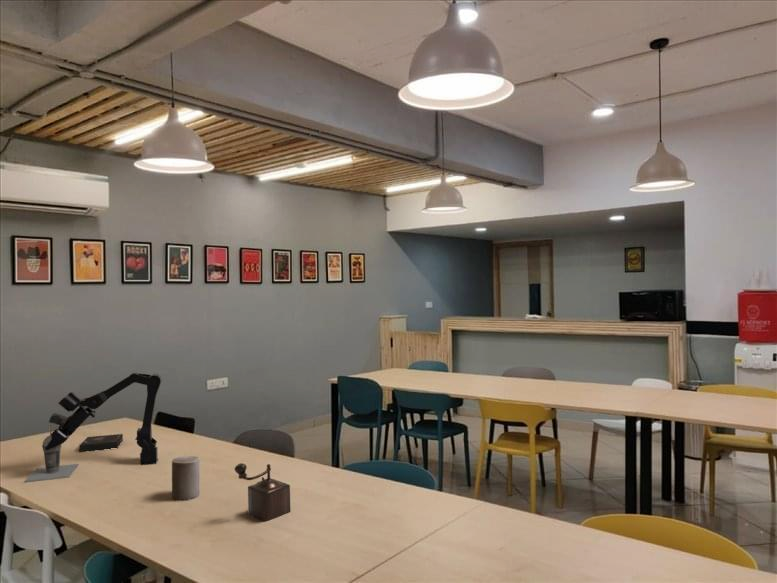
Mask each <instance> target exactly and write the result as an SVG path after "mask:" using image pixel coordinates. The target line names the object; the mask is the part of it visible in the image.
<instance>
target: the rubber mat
mask: <svg viewBox="0 0 777 583" xmlns="http://www.w3.org/2000/svg"><path fill="white" fill-rule="evenodd" d="M78 466H79V463H72V464H62V465H60V467H59V471H58V472H56V473H51V474H48V473H47V471H46V466H44V467H37V468H36V469H35V470H33V472H32V473H30V475H29V476H28V477H27V478H25V480H24V483H31V482H40V481H41V482H42V481H50V480H58V479H67V478H70V477H71V476H72V475H73V473H74V472H75V470H76V469H77V468H78Z"/></svg>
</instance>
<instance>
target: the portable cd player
mask: <svg viewBox="0 0 777 583" xmlns="http://www.w3.org/2000/svg"><path fill="white" fill-rule="evenodd" d="M123 438H124V435H123V433H118V434H117V433H115V434H109V435H108V434H107V435H106V434H105V435H95V436H94V435H93V436H87V437H86V438H85V439H84V440H83V441H82V442H81V443H80V444H79V447H78V452H79V453H87V452H86V451H89V452H96V451H95V450H99V451H105V450H104V449H110V450H112V449H111V448H117V449H119V447H120V446H121V444H122V443H123V441H124V439H123ZM121 442H122V443H121ZM120 443H121V444H120ZM118 446H119V447H118Z"/></svg>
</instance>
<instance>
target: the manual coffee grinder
mask: <svg viewBox="0 0 777 583" xmlns="http://www.w3.org/2000/svg"><path fill="white" fill-rule="evenodd" d="M271 466H272V465H271V464H269V463H268V464H266V470H265V471H263V472H261V473H259V474H257V475H255V476H251V477H247V476H248V474H247V472H246V470H247V468H248V467H247V464H245V463H238V464H236V466H235V467H234V472H235V473H236V474H238V479H240V480H246V481H252V480H257V479H259V478H261V481H258V482H256V483H255V484H252V485H251V484H250V485H248V486H247V502H248V504H247V505H248V508H247V509H248V510H247V511H248V512H247V514H248V515H250V516H251V517H253V518H255V519H257V520H260V521H263V522H268V521H271V520H275V519H277V518H279V517H282V516H284V515H286V514H288V513H291V485H290V484H288V483H286V482H282V481H280V480H276V479H275V478H271V471H272V468H271ZM266 474H267V477H266V478H265V477H263V476H265V475H266Z"/></svg>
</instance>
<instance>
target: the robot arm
mask: <svg viewBox="0 0 777 583" xmlns="http://www.w3.org/2000/svg"><path fill="white" fill-rule="evenodd" d="M135 383H136V384H140V385H145V386H146V393H147V395H146V402H145V408H144V409H145V410H144V414H143V420H142V424H141V427H138V428H137V430H136V437H135V441H136V445H137V446H138V447H140V448H141V451H140V453H139V463H140V465H141V466H142V465H143V464H144V465H152V464H153V463H155V464H157V462H158V461H159V458H158V455H159V454H158V446H157V443H158V441H157V440H156V439H155V438H154V437H153V428H152V425H153V424H152V422H153V416H154V411H155V405H156V399H157V394H158V392H159V389H160V386H161V383H162V376H161V375H160V374H159V373H152V374H147V373H138V372H132V373H131V374H130V375H128V376H127V377H125V378H123V379H122V380H120V381H118V382H117V383H115V384H114V385H112V386H110V387H109V388H107V389H104V390H102V391H99V392H96V393H94V394H92V395H90V396H89V397H84V398H79V397H78V396H77V395H76V393H74V392H73V391H70V392H69V393H68V394H67V395H66V396H64V397H63V398H62V399H61V400H60V401H59V402H58V405H59V406H61V407H62V408H63V409H64V410H65V411H67V412H68V413H69V412H73V413H72V414H70V415H69V416H65V415H63V414H59V413H52V414H51V416H50V417H49V420H48V423H50V424H55V425H57V426H58V428H55V430H53V431H51V437H52V439H51V441H50V442H49V443H48V445H47V446H46V448H45V450H46V451H47V450H49V449H51V448H53V447H56V446H58V445H60V444H61V445H62V444H64V443H65V442H66V441H67V440H68V439H69V438H70V437H71V436H72V435H73V434H74V433H75V431H76V430H77V429H78V428H80V427H81V425H82V424H83V423H84V422H85V421H87V420H88V419H89V417H92V418H94V419H95V418H96V417H97V414H96V413H97V410H96V409H98V408H100V407H101V406H102V405H103V404H104V403H106V401H108V399H110V398H111V397H113V396H114V395H116V394H118V393H120V392H121V391H123V390H124V389H125V388H127V387H129V386H130V385H133V384H135Z"/></svg>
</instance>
